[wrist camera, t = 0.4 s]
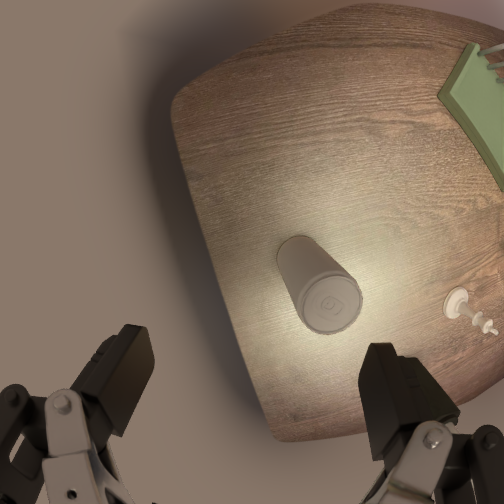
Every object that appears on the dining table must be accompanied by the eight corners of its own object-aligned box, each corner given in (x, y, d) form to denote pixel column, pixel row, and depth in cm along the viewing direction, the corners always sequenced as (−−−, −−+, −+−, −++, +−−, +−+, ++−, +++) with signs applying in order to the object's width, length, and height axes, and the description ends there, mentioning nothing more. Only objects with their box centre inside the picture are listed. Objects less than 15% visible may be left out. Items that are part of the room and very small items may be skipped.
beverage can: (293, 225, 30) (328, 260, 18) (328, 250, 30) (377, 295, 19) (267, 263, 31) (284, 318, 19) (302, 286, 31) (335, 346, 20)
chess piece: (456, 319, 34) (495, 352, 25) (437, 314, 34) (479, 349, 24) (470, 290, 33) (513, 318, 24) (452, 282, 33) (498, 312, 23)
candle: (407, 382, 37) (482, 497, 13) (381, 385, 37) (455, 514, 13) (420, 357, 36) (510, 471, 12) (394, 358, 35) (485, 489, 11)
